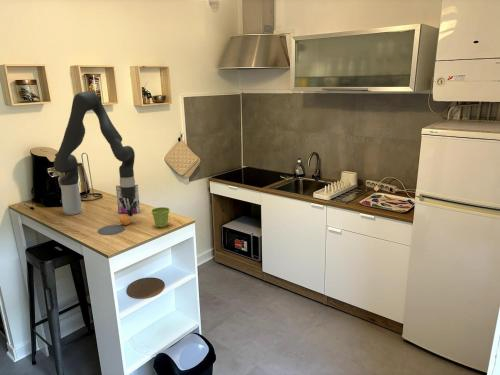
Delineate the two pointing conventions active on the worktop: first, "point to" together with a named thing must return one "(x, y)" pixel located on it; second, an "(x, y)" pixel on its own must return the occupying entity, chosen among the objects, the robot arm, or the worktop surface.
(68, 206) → the robot arm
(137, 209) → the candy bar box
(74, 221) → the worktop surface
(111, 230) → the disc
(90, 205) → the worktop surface
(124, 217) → the ball
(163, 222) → the plant pot
